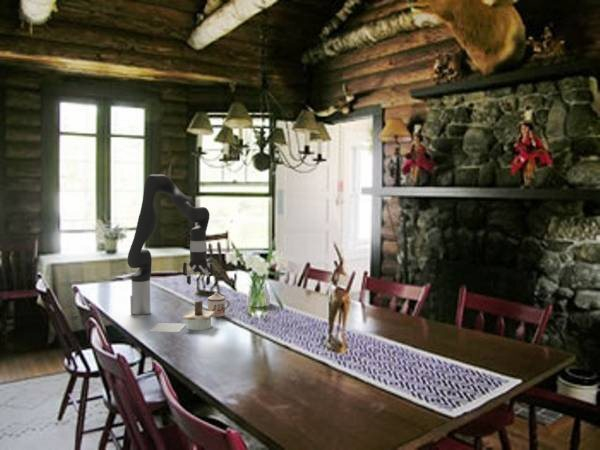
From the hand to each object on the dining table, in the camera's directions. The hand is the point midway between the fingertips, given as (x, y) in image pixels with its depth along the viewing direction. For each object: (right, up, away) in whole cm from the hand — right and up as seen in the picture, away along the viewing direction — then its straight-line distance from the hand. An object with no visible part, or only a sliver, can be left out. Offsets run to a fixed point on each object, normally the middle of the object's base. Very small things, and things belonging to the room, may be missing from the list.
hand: (198, 284), depth 242 cm
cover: (0, -15, +1) cm, 15 cm away
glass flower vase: (+24, -17, +49) cm, 57 cm away
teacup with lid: (+5, -19, +26) cm, 33 cm away
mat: (-14, -21, +1) cm, 25 cm away
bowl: (0, -21, +2) cm, 21 cm away
